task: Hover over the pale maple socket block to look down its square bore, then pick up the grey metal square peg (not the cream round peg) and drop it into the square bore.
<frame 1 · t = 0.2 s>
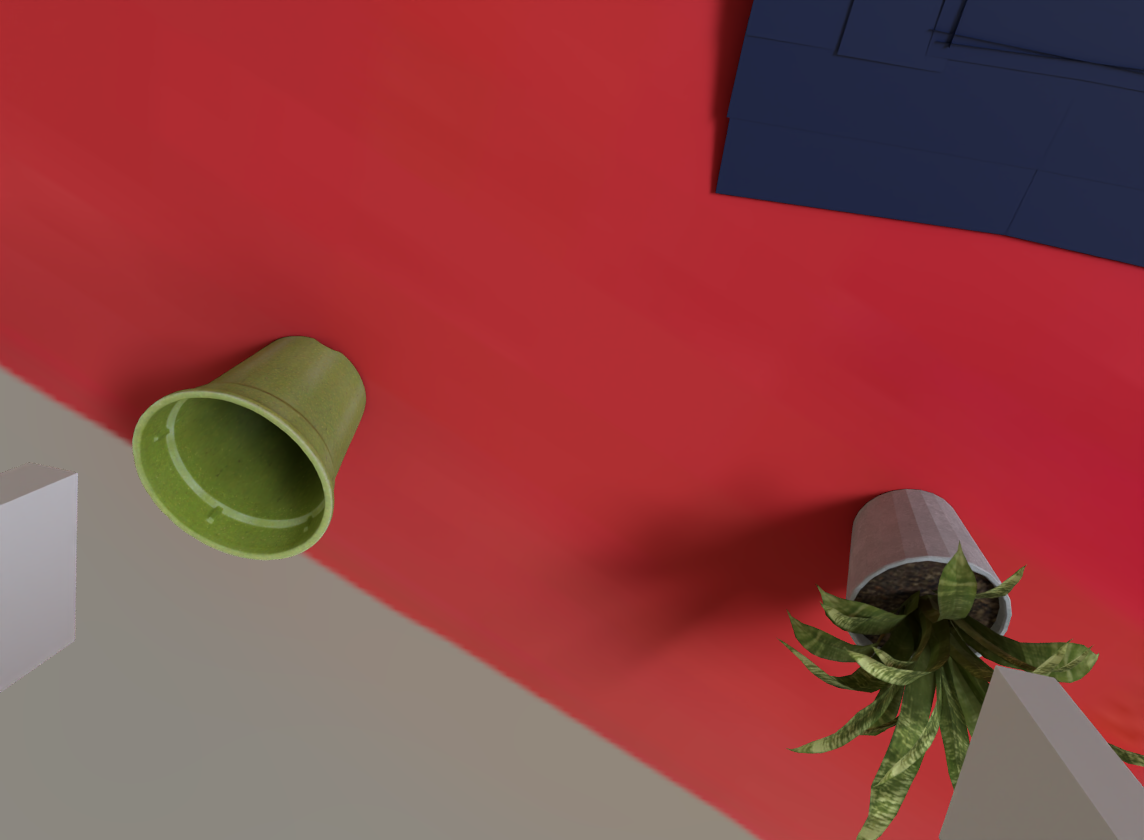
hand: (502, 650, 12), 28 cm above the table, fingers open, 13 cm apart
house plant: (926, 512, 43), on the table
plant pot: (315, 384, 45), on the table
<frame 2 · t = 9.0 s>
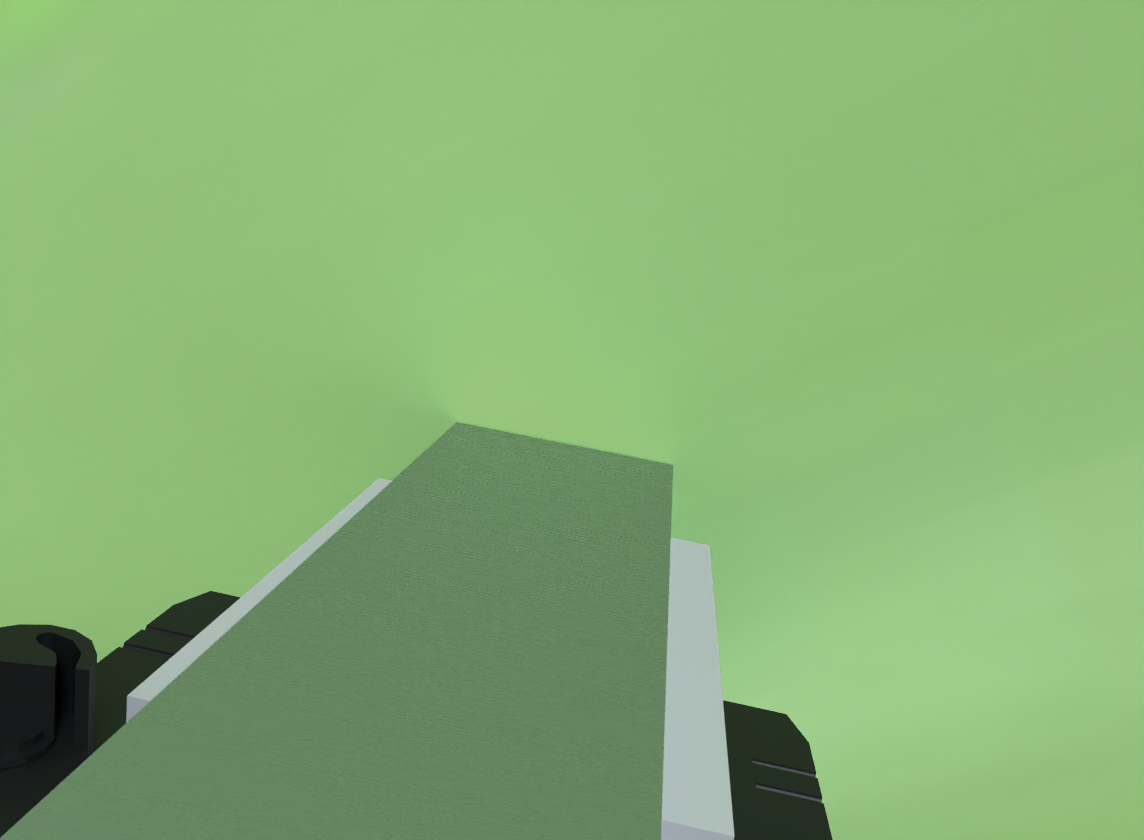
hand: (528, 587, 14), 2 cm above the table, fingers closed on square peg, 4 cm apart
square peg: (546, 545, 16), on the table, touching gripper
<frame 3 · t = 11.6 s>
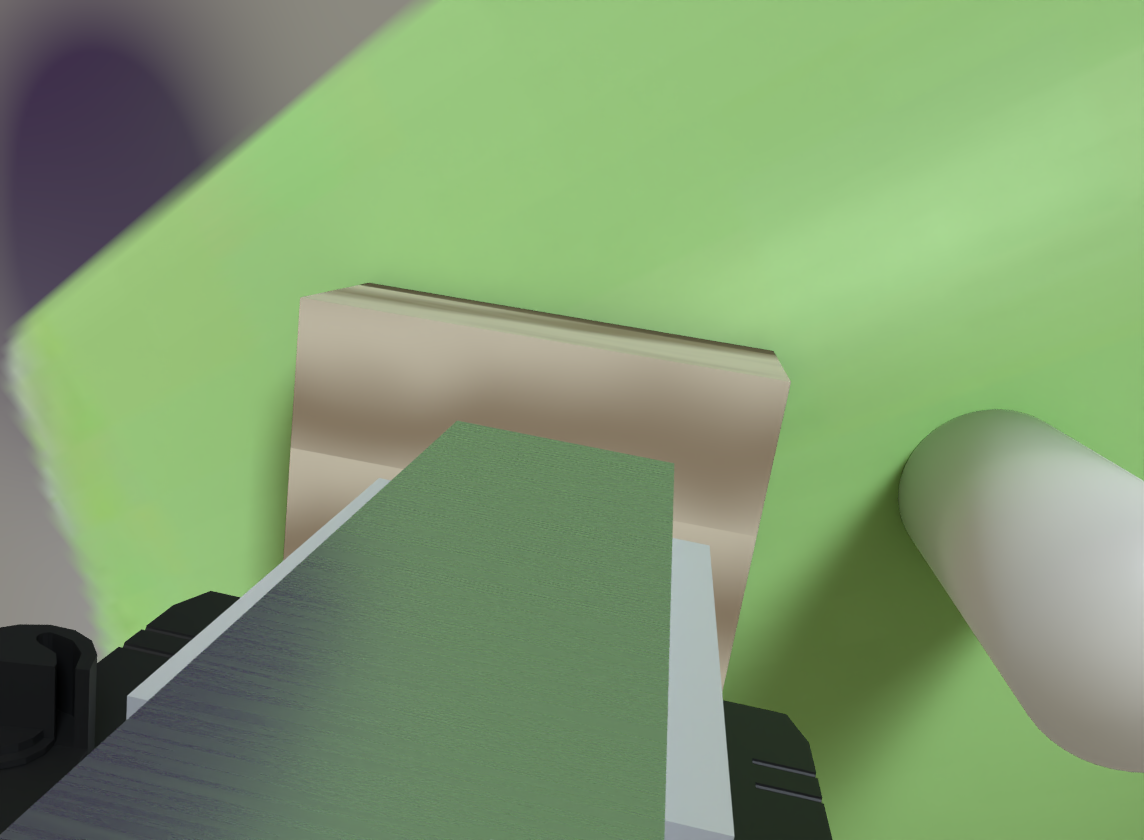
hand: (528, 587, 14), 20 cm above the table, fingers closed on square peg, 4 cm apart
socket block: (537, 508, 35), on the table
square peg: (547, 543, 16), point 18 cm above the table, touching gripper
round peg: (989, 494, 32), on the table
when the fingers open (9 cm above the table, at t = 14.6 s): square peg drops 6 cm, resting on socket block.
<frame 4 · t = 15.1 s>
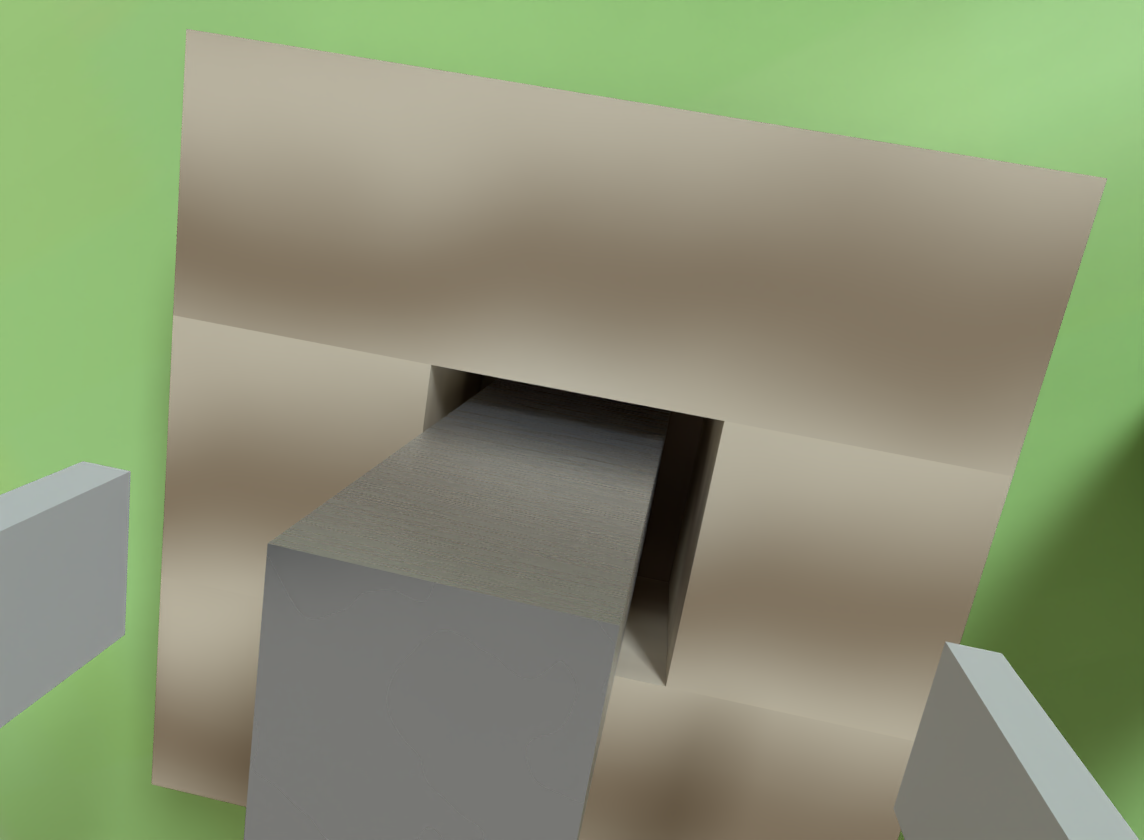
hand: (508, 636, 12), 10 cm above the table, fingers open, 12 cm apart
socket block: (585, 448, 22), on the table
square peg: (579, 458, 21), point 1 cm above the table, touching socket block
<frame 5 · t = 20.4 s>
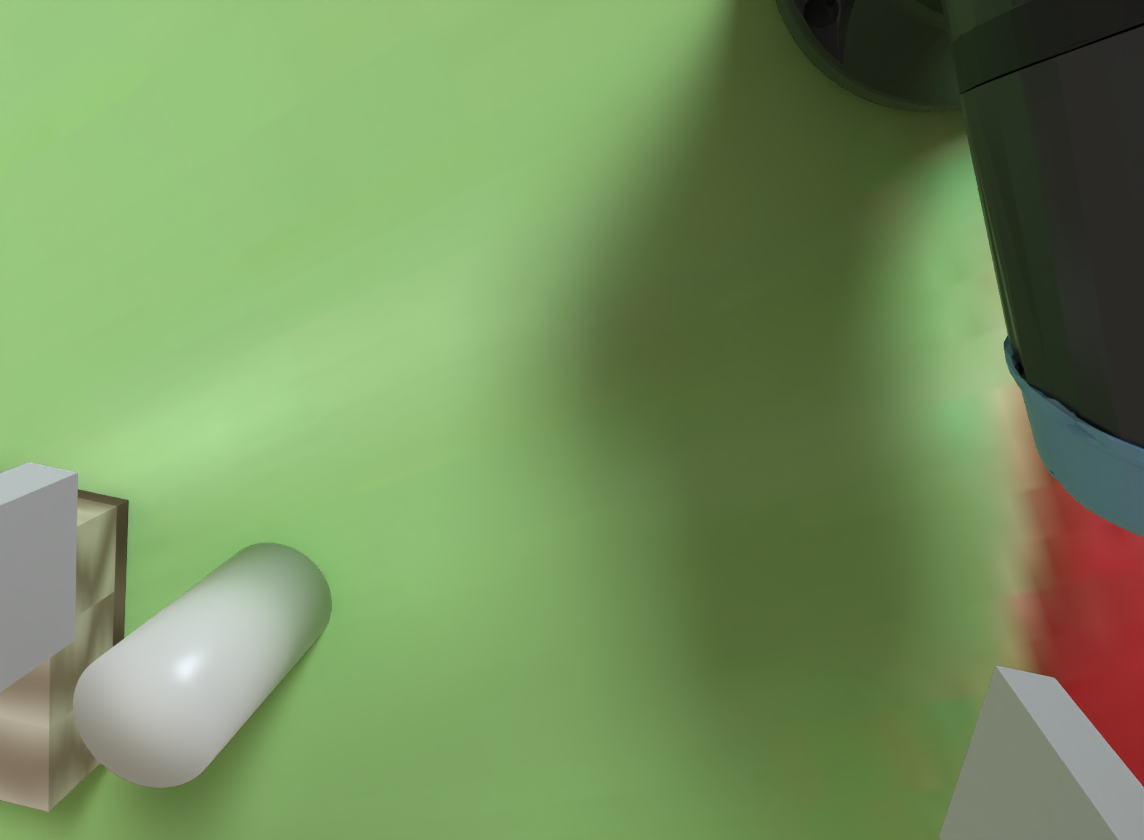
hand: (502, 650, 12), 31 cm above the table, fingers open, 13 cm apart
round peg: (275, 597, 47), on the table
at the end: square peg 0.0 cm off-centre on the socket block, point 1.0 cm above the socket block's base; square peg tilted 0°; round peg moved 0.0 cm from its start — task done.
